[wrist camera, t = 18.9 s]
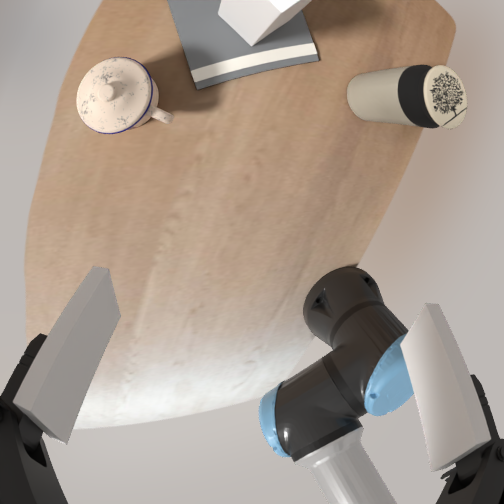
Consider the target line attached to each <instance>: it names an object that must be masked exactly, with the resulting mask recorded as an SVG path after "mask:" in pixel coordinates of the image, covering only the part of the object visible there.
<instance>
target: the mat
mask: <svg viewBox="0 0 504 504" xmlns="http://www.w3.org/2000/svg"><path fill="white" fill-rule="evenodd" d="M167 1H168V4H169V7H170V10H171V13H172V16H173V19H174V22H175V25H176V28H177V31H178V34H179V37H180V40H181V43H182V46H183V49H184V52H185V55H186V58H187V61H188V64H189V67H190V70H191V74H192V77H193V80H194V83H195V86H196V89H197V90H199V89H202V88H205V87H209V86H212V85H215V84H218V83H222V82H225V81H229V80H232V79H236V78H240V77H244V76H247V75H251V74H256V73H260V72H264V71H268V70H273V69H278V68H282V67H287V66H292V65H298V64H303V63H309V62H315V61H319V59H318V56H317V52H316V48H315V45H314V43H313V40H312V37H311V35H310V32H309V29H308V26H307V23H306V20H305V17H304V15H303V12H302V10H300V11H299V12H298V13H297V14H296V15H295V16H294V17H293V18H291V19H290V20H289V21H288V22H287V23H285V24H284V25H282V26H281V27H279V28H278V29H276V30H275V31H273V32H272V33H270V34H269V35H267V36H266V37H264V38H263V39H262V40H260V41H259V42H257V43H256V44H255V45H253V46H250V45H249V44H248V43H247V42H246V41H245V40H244V39H243V38H242V37H241V36H240V35H239V34H238V33H237V32H236V31H235V30H234V29H233V28H232V27H231V26H230V25H229V24H228V23H227V22H226V21H224V20H223V19H222V18H221V17H220V16H219V15H218V11H219V7H220V4H221V0H167Z"/></svg>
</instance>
